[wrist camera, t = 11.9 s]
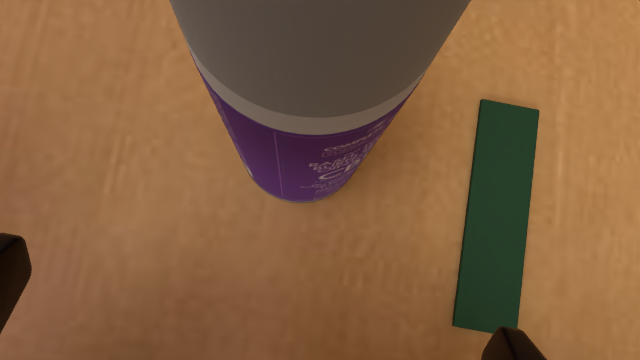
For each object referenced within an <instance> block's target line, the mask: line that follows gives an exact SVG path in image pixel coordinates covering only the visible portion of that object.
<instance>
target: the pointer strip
mask: <svg viewBox="0 0 640 360" xmlns="http://www.w3.org/2000/svg"><path fill="white" fill-rule="evenodd" d="M538 119H539V110H536V109H531V108H526V107H520V106H515V105H510V104H505V103H500V102H495V101H490V100H485V99H482V100H481V101H480V108H479V116H478V124H477V132H476V140H475V148H474V156H473V164H472V172H471V180H470V188H469V196H468V204H467V212H466V220H465V228H464V235H463V243H462V251H461V259H460V267H459V275H458V283H457V291H456V299H455V307H454V315H453V323H452V326H455V327H461V328H466V329H472V330H477V331H483V332H488V333H494V332H495V331H496V329H497V328H498V327H500V326H506V327H511V328H516V329H517V325H518V315H519V305H520V296H521V286H522V276H523V266H524V256H525V246H526V237H527V227H528V217H529V207H530V197H531V187H532V178H533V168H534V158H535V148H536V138H537V128H538Z"/></svg>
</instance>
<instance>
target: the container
mask: <svg viewBox="0 0 640 360" xmlns="http://www.w3.org/2000/svg"><path fill="white" fill-rule="evenodd" d="M169 1H170V3H171V5H172V8H173V10H174V13H175V15H176V18H177V20H178V22H179V25H180V27H181V30H182V32H183V34H184V37H185V39H186V42H187V44H188V47H189V50H190V53H191V55H192V57H193V60H194V62H195V64H196V66H197V69H198V71H199V73H200V75H201V77H202V79H203V81H204V83H205V85H206V87H207V89H208V91H209V93H210V95H211V97H212V99H213V101H214V104H215V106H216V108H217V110H218V112H219V114H220V116H221V118H222V120H223V122H224V124H225V126H226V128H227V130H228V132H229V134H230V136H231V139H232V141H233V143H234V145H235V147H236V149H237V151H238V153H239V155H240V157H241V159H242V161H243V163H244V165H245V167H246V169H247V171H248V173H249V174H250V176H251V177H252V179H253V180H254V181H255V182H256V184H257V185H258V186H259V187H260V188H262V189H263V190H264V191H265V192H267V193H268V194H270V195H272V196H274V197H276V198H278V199H281V200H284V201H288V202H294V203H308V202H314V201H318V200H321V199H324V198H326V197H328V196H330V195H332V194H333V193H335V192H336V191H338V190H339V189H340V188H341V187H342V186H343V185H344V184H345V183H346V182H347V181H348V180H349V179H350V177H351V176H352V175H353V173H354V172H355V170H356V169H357V168H358V166H359V165H360V164H361V162H362V161H363V159H364V158H365V157H366V155H367V154H368V153H369V151H370V150H371V148H372V147H373V146H374V144H375V143H376V142H377V140H378V139H379V137H380V136H381V135H382V133H383V132H384V131H385V129H386V128H387V126H388V125H389V124H390V122H391V121H392V120H393V118H394V117H395V115H396V114H397V113H398V111H399V110H400V109H401V107H402V106H403V104H404V103H405V102H406V100H407V99H408V98H409V96H410V95H411V93H412V92H413V91H414V89H415V88H416V87H417V85H418V84H419V82H420V80H421V79H422V77H423V76H424V74H425V72H426V70H427V69H428V67H429V66H430V64H431V62H432V61H433V59H434V58H435V56H436V54H437V53H438V51H439V50H440V48H441V47H442V45H443V43H444V42H445V40H446V39H447V37H448V36H449V34H450V32H451V31H452V29H453V28H454V26H455V25H456V23H457V21H458V20H459V18H460V17H461V15H462V14H463V12H464V10H465V9H466V7H467V6H468V4H469V3H470V1H471V0H169Z"/></svg>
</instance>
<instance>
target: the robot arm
mask: <svg viewBox="0 0 640 360" xmlns="http://www.w3.org/2000/svg"><path fill="white" fill-rule="evenodd" d="M31 271H32V267H31V262H30V258H29V254H28V250H27V246H26V242H25V240H24V239H23V238H22V237H21V236H18V235H12V234H7V233H0V334H1V332H2V330H3V328H4V326H5V324H6V322H7V320H8V319H9V317H10V315H11V313H12V311H13V309H14V307H15V305H16V304H17V302H18V300H19V298H20V296H21V294H22V292H23V290H24V289H25V287H26V285H27V283H28V281H29V279H30V276H31ZM481 360H547V359H546V358H545V357H544V356H543V354H542V353H541V352H540V351H539V350H538V348H537V347H536V346H535V345H534V344H533V342H532V341H531V340H530V339H529V337H528V336H527V335H526V334H525V333H524V332H523V331H522V330H520V329H516V328H511V327H506V326H500V327H498V328H497V329H496V331H495V332H494V334H493V336H492V337H491V339H490V341H489V342H488V344H487V346H486V347H485V349H484V351H483V353H482V358H481Z"/></svg>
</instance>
